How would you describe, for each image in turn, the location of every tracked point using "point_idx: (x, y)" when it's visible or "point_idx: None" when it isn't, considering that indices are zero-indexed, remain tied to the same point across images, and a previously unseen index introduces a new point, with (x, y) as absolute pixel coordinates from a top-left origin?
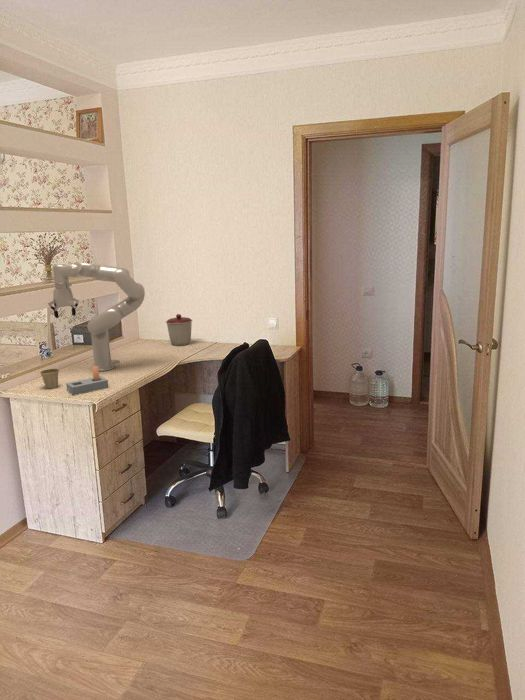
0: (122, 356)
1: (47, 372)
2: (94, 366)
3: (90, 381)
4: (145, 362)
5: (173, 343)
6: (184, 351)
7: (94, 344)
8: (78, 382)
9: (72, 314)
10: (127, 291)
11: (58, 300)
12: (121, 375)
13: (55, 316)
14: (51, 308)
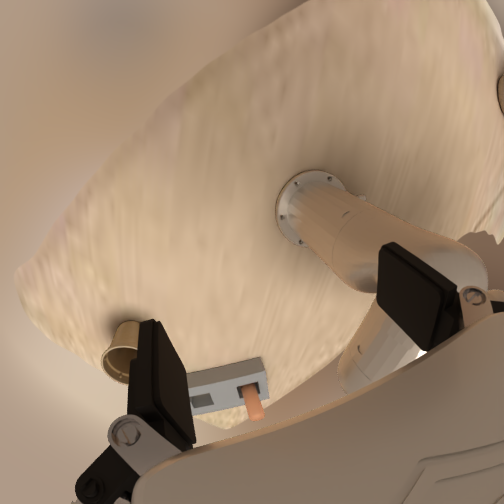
0: (402, 85)
1: (119, 342)
2: (256, 415)
3: (232, 397)
4: (418, 212)
5: (501, 99)
6: (492, 169)
7: (334, 270)
8: (205, 392)
9: (383, 263)
10: None
11: None
12: (324, 312)
13: (142, 333)
14: (96, 472)
